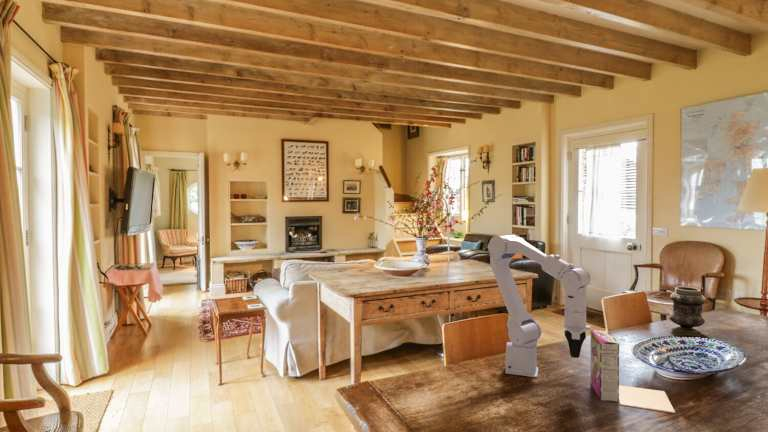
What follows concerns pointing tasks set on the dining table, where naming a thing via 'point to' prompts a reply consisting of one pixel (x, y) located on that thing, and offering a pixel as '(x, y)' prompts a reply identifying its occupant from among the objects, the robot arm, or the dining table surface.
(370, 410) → the dining table surface
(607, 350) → the candy bar box
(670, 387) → the dining table surface
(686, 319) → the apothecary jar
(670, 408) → the placemat
